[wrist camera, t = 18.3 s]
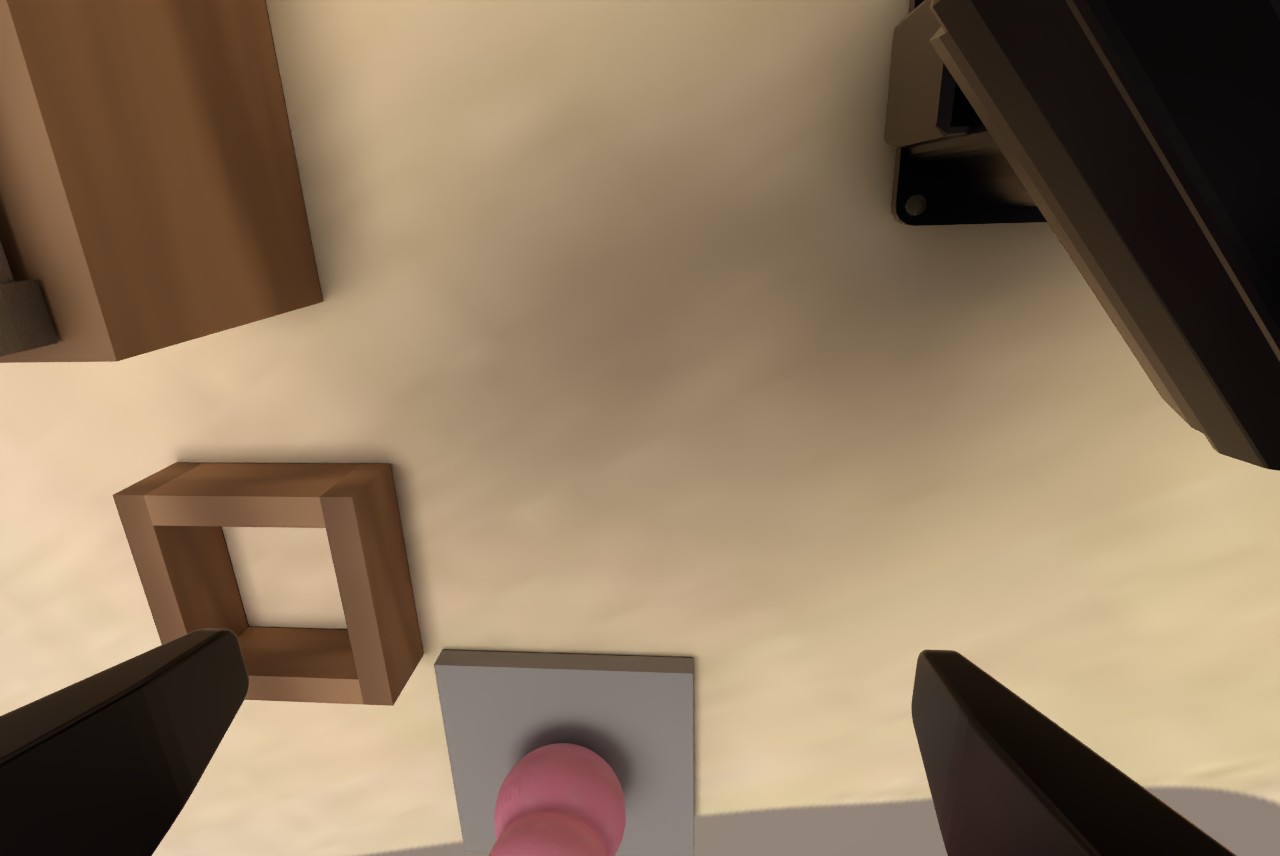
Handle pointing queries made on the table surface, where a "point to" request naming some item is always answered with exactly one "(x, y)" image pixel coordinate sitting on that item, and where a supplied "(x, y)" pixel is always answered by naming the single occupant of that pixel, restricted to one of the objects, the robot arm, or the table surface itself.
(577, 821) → the dog chew toy
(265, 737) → the table surface
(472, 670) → the slate mat
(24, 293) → the latch bolt
